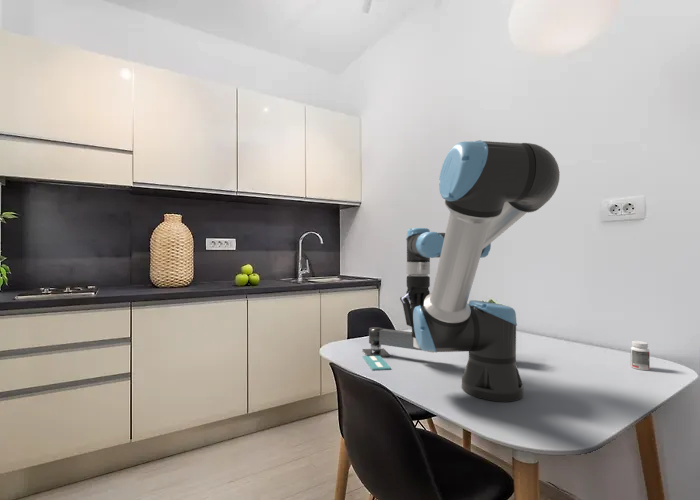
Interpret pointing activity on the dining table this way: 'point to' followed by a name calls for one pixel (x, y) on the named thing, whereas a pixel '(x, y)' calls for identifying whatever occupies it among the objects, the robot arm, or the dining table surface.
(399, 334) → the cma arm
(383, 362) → the label
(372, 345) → the grey square stand
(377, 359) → the label
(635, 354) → the pill bottle
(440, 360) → the dining table surface
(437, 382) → the dining table surface
